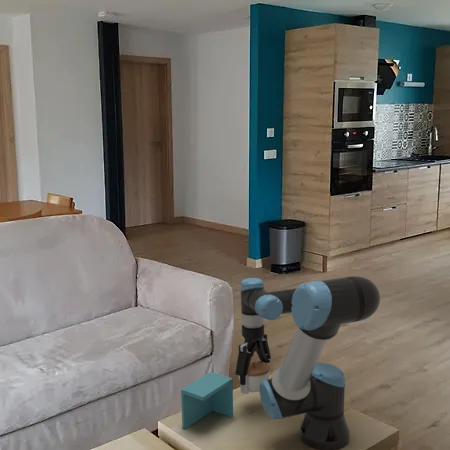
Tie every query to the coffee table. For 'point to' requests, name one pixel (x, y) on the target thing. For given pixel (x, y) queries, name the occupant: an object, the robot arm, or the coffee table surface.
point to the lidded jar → (257, 374)
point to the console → (207, 398)
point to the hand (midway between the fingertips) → (254, 386)
